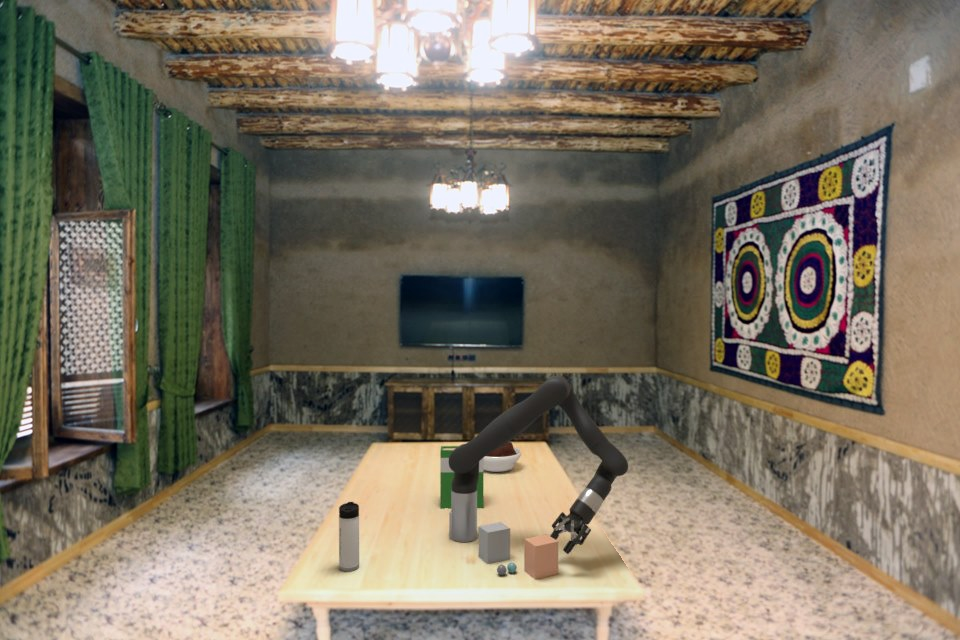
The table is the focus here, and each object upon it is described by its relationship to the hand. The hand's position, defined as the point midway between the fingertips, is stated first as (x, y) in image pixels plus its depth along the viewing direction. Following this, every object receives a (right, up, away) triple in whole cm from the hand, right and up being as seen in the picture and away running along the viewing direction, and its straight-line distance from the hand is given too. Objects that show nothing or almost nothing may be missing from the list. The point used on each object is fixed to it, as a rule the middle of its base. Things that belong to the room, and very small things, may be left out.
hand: (557, 547), depth 189 cm
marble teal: (-15, -7, -2) cm, 16 cm away
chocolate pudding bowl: (-16, -4, +113) cm, 115 cm away
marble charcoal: (-18, -7, -4) cm, 20 cm away
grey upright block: (-20, -7, +9) cm, 23 cm away
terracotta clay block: (-5, -7, -2) cm, 9 cm away
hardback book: (-32, -5, +60) cm, 68 cm away
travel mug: (-66, -7, +1) cm, 67 cm away
